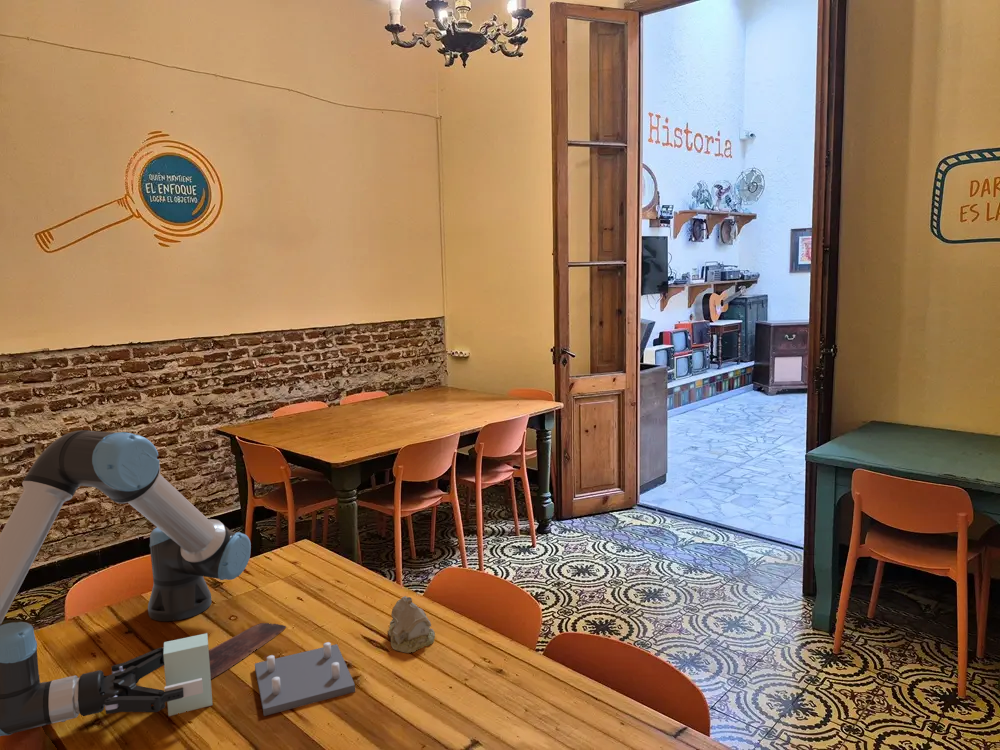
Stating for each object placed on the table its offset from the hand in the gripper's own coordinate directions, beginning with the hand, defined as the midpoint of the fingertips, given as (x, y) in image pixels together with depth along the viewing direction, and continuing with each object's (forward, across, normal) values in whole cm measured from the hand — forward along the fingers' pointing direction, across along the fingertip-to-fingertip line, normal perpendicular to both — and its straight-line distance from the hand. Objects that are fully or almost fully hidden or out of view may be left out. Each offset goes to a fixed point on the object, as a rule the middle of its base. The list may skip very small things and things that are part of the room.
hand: (202, 667), depth 136 cm
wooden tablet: (+7, -18, -8) cm, 21 cm away
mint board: (-3, 0, -7) cm, 8 cm away
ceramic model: (+45, -6, -8) cm, 46 cm away
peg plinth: (+19, +2, -7) cm, 21 cm away
